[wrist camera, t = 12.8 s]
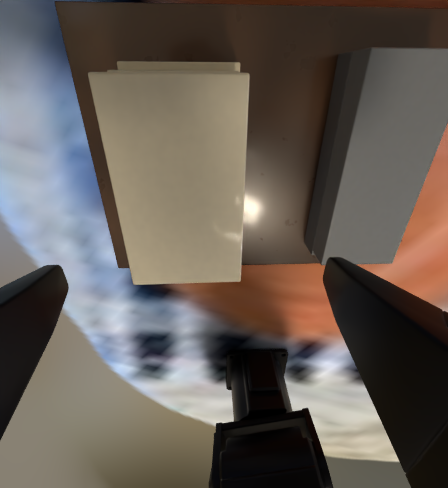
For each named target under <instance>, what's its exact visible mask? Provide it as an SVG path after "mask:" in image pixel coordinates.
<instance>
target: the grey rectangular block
mask: <svg viewBox="0 0 448 488" xmlns="http://www.w3.org/2000/svg"><path fill="white" fill-rule="evenodd" d="M447 123H448V48H395V47H371V48H366V49H361V50H356V51H352V52H347V53H342V54H339V55H338V59H337V65H336V70H335V76H334V81H333V87H332V92H331V98H330V103H329V109H328V114H327V120H326V125H325V131H324V136H323V142H322V147H321V153H320V158H319V164H318V169H317V175H316V180H315V186H314V191H313V197H312V202H311V208H310V213H309V219H308V224H307V230H306V235H305V241H304V243H305V245H306V247H307V248H308V250H309V252H310V253H311V255H315V256H316V257H317V259H318V260H319V262H320V264H321V265H326V262H327V259H328V258H329V257H342V258H344V259H346V260H348V261H349V262H351V263H353V264H389V263H392V262H393V260H394V257H395V255H396V252H397V250H398V247H399V245H400V242H401V240H402V237H403V235H404V232H405V229H406V227H407V224H408V222H409V219H410V217H411V214H412V212H413V209H414V207H415V204H416V202H417V199H418V197H419V194H420V191H421V189H422V186H423V184H424V181H425V179H426V176H427V174H428V171H429V169H430V166H431V164H432V161H433V158H434V156H435V153H436V151H437V148H438V146H439V143H440V141H441V138H442V136H443V133H444V131H445V128H446V125H447Z"/></svg>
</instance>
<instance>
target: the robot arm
mask: <svg viewBox="0 0 448 488" xmlns="http://www.w3.org/2000/svg"><path fill="white" fill-rule="evenodd" d="M323 283H324V286H325V289H326V293H327V296H328V299H329V302H330V305H331V308H332V311H333V314H334V317H335V320H336V323H337V325H338V327H339V329H340V332H341V334H342V336H343V338H344V340H345V343H346V345H347V347H348V349H349V351H350V354H351V356H352V358H353V360H354V362H355V365H356V367H357V369H358V371H359V373H360V376H361V378H362V380H363V382H364V384H365V387H366V389H367V391H368V393H369V395H370V397H371V400H372V402H373V404H374V406H375V408H376V411H377V413H378V415H379V417H380V419H381V422H382V424H383V426H384V428H385V430H386V433H387V435H388V437H389V439H390V441H391V444H392V446H393V448H394V450H395V452H396V455H397V457H398V459H399V461H400V463H401V466H402V468H403V470H404V472H405V473H406V477H407V479H408V481H409V484H410V486H411V488H448V312H446V311H442V309H440V308H438V307H436V306H434V305H432V304H430V303H428V302H426V301H424V300H422V299H421V298H419V297H417V296H415V295H413V294H411V293H409V292H407V291H405V290H403V289H401V288H399V287H397V286H396V285H394V284H392V283H390V282H388V281H386V280H384V279H382V278H380V277H378V276H376V275H374V274H373V273H371V272H369V271H367V270H365V269H363V268H361V267H359V266H357V265H355V264H353V263H351V262H349V261H348V260H346V259H344V258H342V257H329V258H328V259H327V262H326V266H325V270H324V275H323ZM67 293H68V283H67V280H66V277H65V275H64V272H63V269H62V267H61V266H59V265H46V266H43V267H41V268H39V269H37V270H35V271H33V272H31V273H29V274H27V275H26V276H23V277H21V278H19V279H17V280H15V281H13V282H11V283H9V284H7V285H5V286H3V287H1V288H0V440H1V438H2V436H3V434H4V432H5V430H6V428H7V426H8V424H9V421H10V420H11V417H12V415H13V414H14V411H15V409H16V407H17V405H18V403H19V401H20V399H21V397H22V395H23V393H24V390H25V389H26V387H27V385H28V383H29V381H30V379H31V377H32V375H33V373H34V371H35V369H36V367H37V365H38V362H39V360H40V358H41V356H42V354H43V352H44V350H45V348H46V346H47V344H48V342H49V340H50V338H51V336H52V333H53V331H54V328H55V326H56V324H57V321H58V318H59V315H60V313H61V310H62V307H63V304H64V301H65V299H66V296H67ZM287 358H288V352H287V350H286V349H264V350H238V351H229V352H228V353H227V377H226V386H227V389H228V390H232V401H233V414H234V422H228V423H222V422H221V423H216V433H214V445H213V460H212V468H211V474H210V479H209V488H333V485H332V481H331V477H330V473H329V470H328V466H327V463H326V459H325V456H324V453H323V450H322V447H321V444H320V441H319V438H318V435H317V433H316V430H315V427H314V424H313V421H312V418H311V415H310V412H309V410H308V408H304V409H302V410H299V411H292V407H291V403H290V400H289V396H288V392H287V388H286V384H285V380H284V373H285V368H286V363H287Z"/></svg>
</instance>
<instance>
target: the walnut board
mask: <svg viewBox="0 0 448 488" xmlns="http://www.w3.org/2000/svg"><path fill="white" fill-rule="evenodd" d="M55 6H56V11H57V15H58V19H59V23H60V27H61V31H62V36H63V40H64V44H65V48H66V52H67V56H68V60H69V65H70V69H71V73H72V77H73V81H74V85H75V90H76V94H77V98H78V102H79V106H80V110H81V114H82V119H83V123H84V127H85V131H86V135H87V139H88V144H89V148H90V152H91V156H92V160H93V164H94V168H95V173H96V177H97V181H98V185H99V189H100V193H101V198H102V202H103V206H104V210H105V214H106V218H107V222H108V227H109V231H110V235H111V239H112V243H113V247H114V252H115V256H116V260H117V264H118V268H130V266H129V262H128V257H127V253H126V248H125V243H124V239H123V234H122V230H121V225H120V220H119V216H118V211H117V206H116V202H115V197H114V193H113V188H112V183H111V179H110V174H109V170H108V165H107V160H106V156H105V151H104V147H103V142H102V137H101V133H100V128H99V123H98V119H97V114H96V110H95V105H94V100H93V96H92V91H91V87H90V82H89V77H88V73H89V72H107V70H118V67H117V62H118V61H143V62H239V63H240V73H249V75H250V78H249V101H248V124H247V148H246V171H245V194H244V217H243V240H242V263H241V265H267V264H307V263H320V262H319V260H318V259H317V257H316V256H315V255H311V253H310V252H309V250H308V248H307V247H306V245H305V243H304V241H305V235H306V230H307V224H308V219H309V213H310V208H311V202H312V197H313V191H314V186H315V180H316V175H317V169H318V164H319V158H320V153H321V147H322V142H323V136H324V131H325V125H326V120H327V114H328V109H329V103H330V98H331V92H332V87H333V81H334V76H335V70H336V65H337V59H338V55H339V54H342V53H347V52H352V51H356V50H361V49H366V48H371V47H395V48H448V8H412V7H356V6H300V5H244V4H188V3H132V2H76V1H55Z"/></svg>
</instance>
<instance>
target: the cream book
mask: <svg viewBox="0 0 448 488" xmlns="http://www.w3.org/2000/svg"><path fill="white" fill-rule="evenodd" d="M88 77H89V82H90V87H91V91H92V96H93V100H94V105H95V110H96V114H97V119H98V123H99V128H100V133H101V137H102V142H103V147H104V151H105V156H106V160H107V165H108V170H109V174H110V179H111V183H112V188H113V193H114V197H115V202H116V206H117V211H118V216H119V220H120V225H121V230H122V234H123V239H124V243H125V248H126V253H127V257H128V262H129V266H130V271H131V276H132V280H133V284H134V285H142V284H176V283H211V282H240V280H241V263H242V240H243V217H244V194H245V171H246V148H247V124H248V101H249V78H250V75H249V73H213V72H89V73H88Z"/></svg>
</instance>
